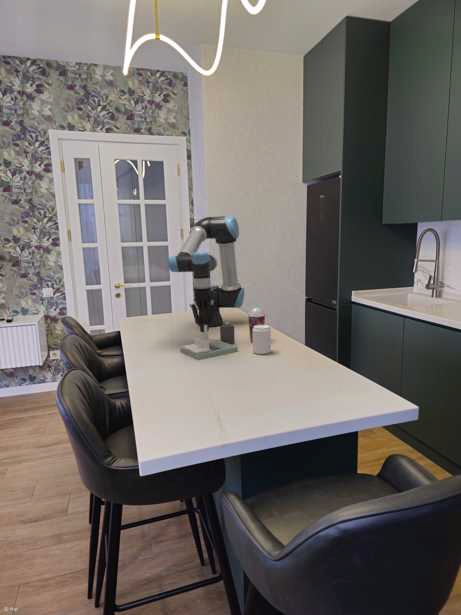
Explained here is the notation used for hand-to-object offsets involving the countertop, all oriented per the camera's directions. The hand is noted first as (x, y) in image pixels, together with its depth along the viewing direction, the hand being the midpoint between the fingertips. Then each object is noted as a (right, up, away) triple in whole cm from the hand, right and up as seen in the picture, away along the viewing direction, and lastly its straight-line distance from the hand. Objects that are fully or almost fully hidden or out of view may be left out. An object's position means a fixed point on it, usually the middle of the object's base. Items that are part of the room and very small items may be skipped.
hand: (204, 338), depth 183 cm
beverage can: (+26, -6, -2) cm, 27 cm away
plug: (+10, -4, +15) cm, 18 cm away
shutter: (-4, -5, -2) cm, 6 cm away
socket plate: (+2, -6, +2) cm, 7 cm away
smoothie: (+25, -3, +16) cm, 30 cm away
